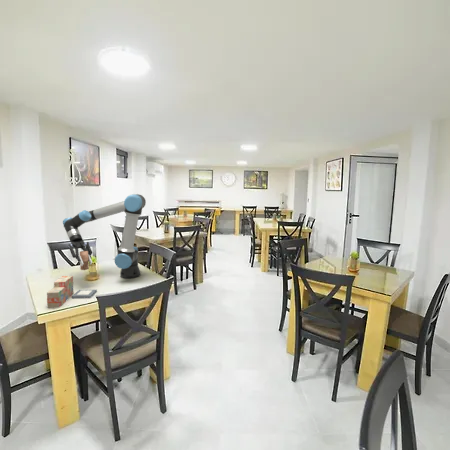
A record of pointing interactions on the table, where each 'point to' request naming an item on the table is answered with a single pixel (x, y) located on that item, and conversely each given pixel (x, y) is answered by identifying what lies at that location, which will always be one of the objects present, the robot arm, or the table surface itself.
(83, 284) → the table surface
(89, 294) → the base board
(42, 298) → the table surface
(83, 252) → the column
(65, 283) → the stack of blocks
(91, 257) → the robot arm
